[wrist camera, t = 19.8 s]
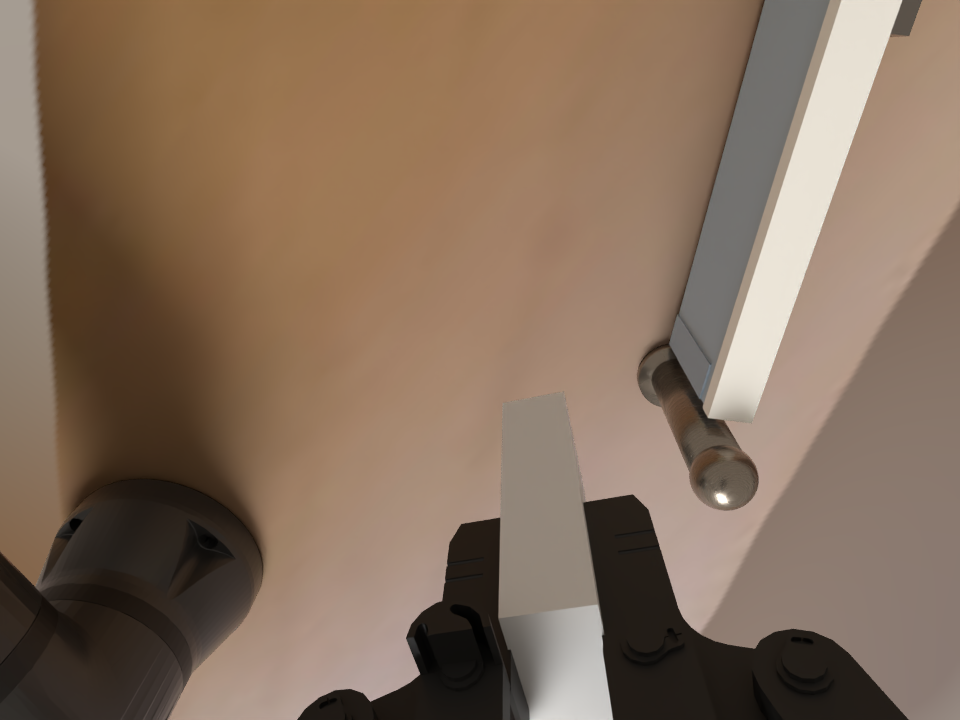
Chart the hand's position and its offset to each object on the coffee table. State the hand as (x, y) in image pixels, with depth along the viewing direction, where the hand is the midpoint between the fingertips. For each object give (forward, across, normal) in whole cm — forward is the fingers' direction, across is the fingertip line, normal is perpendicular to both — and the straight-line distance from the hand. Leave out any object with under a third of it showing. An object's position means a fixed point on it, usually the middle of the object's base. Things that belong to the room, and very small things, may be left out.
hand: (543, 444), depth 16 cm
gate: (+23, +12, 0) cm, 26 cm away
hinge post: (+24, +7, -12) cm, 28 cm away
